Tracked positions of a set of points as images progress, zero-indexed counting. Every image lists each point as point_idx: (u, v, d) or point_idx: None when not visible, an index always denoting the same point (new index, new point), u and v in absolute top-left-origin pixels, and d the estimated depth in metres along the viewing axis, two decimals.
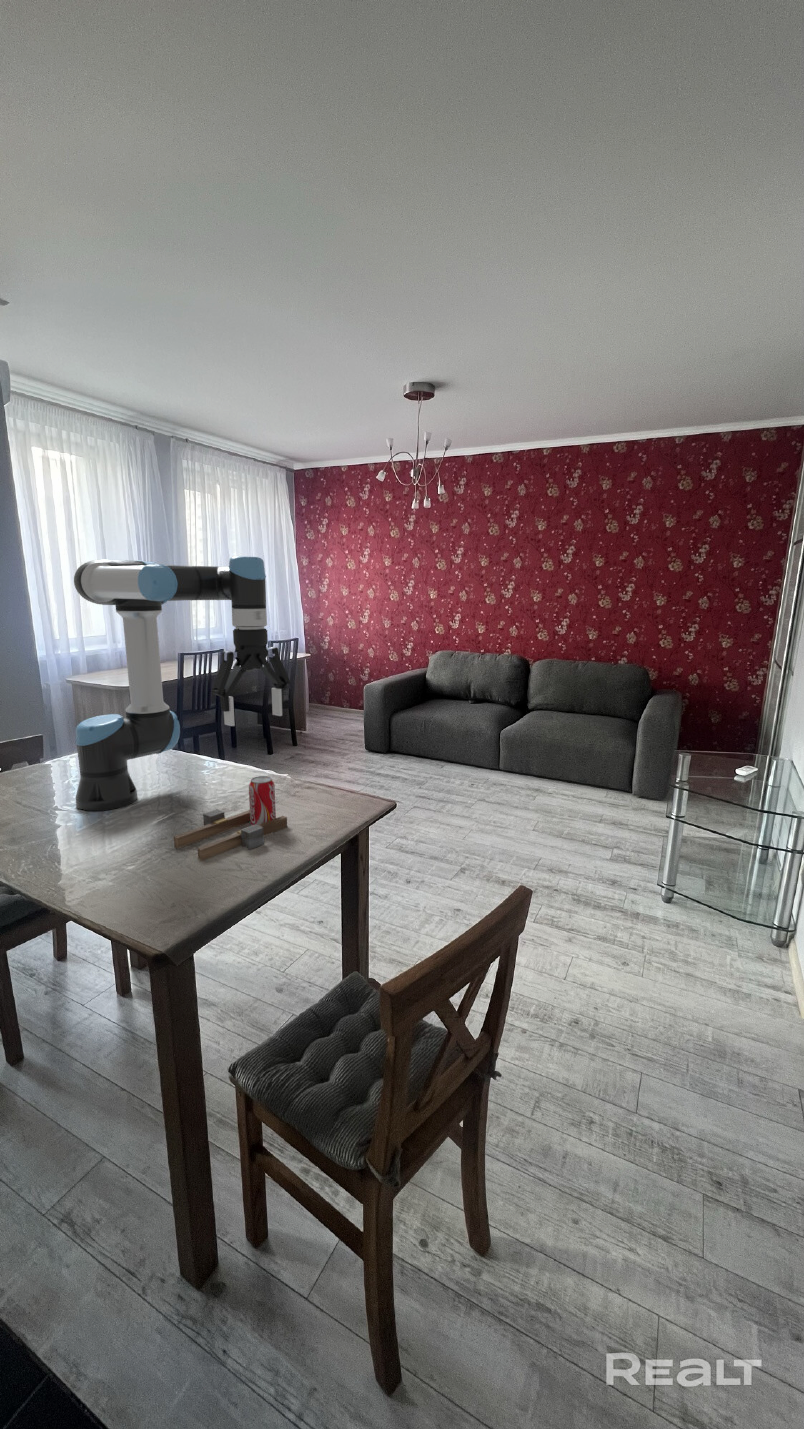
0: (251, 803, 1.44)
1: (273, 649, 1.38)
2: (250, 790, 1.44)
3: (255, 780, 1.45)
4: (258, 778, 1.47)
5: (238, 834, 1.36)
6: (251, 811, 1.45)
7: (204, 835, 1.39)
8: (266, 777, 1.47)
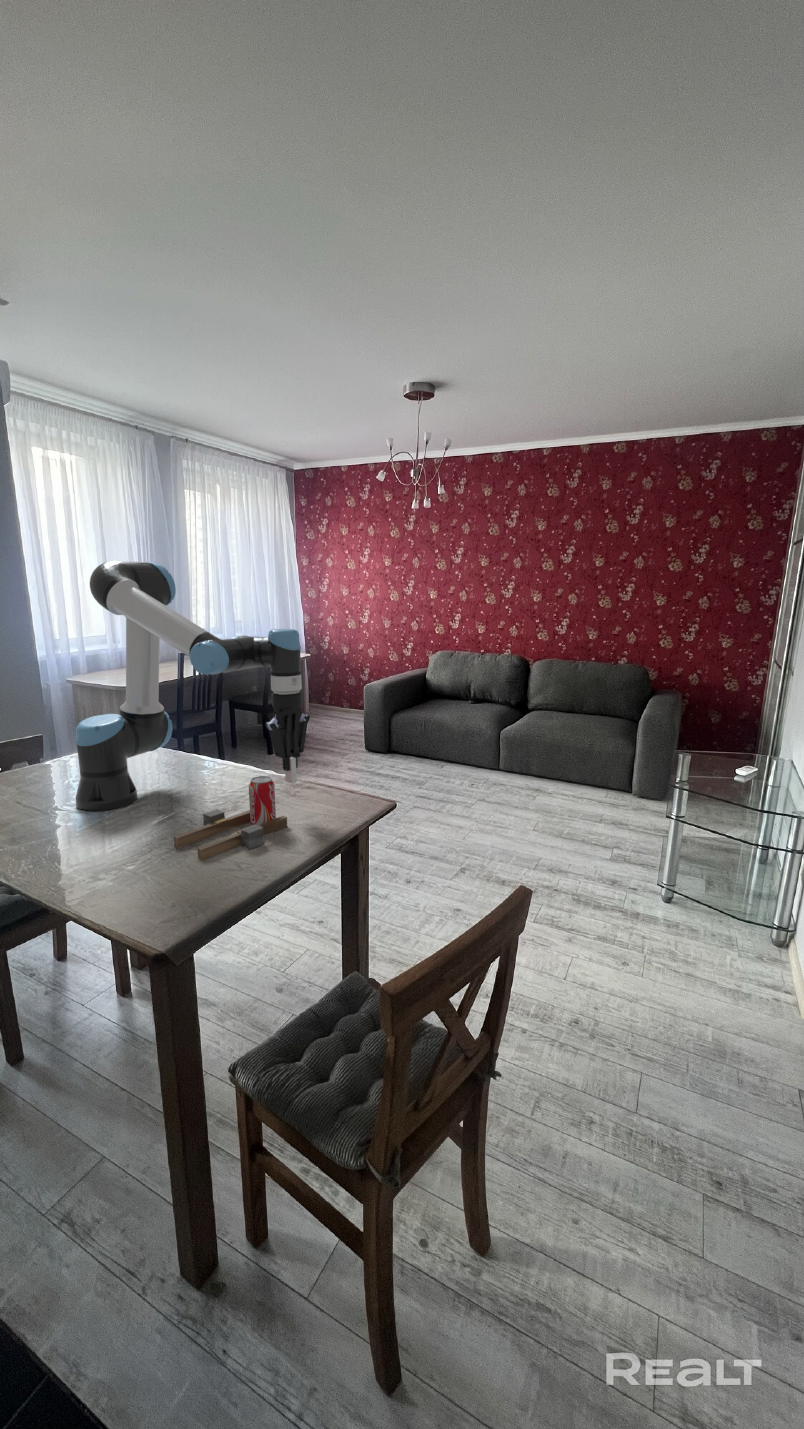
0: (251, 803, 1.44)
1: (306, 715, 1.53)
2: (250, 790, 1.44)
3: (255, 780, 1.45)
4: (258, 778, 1.47)
5: (238, 834, 1.36)
6: (251, 811, 1.45)
7: (204, 835, 1.39)
8: (266, 777, 1.47)
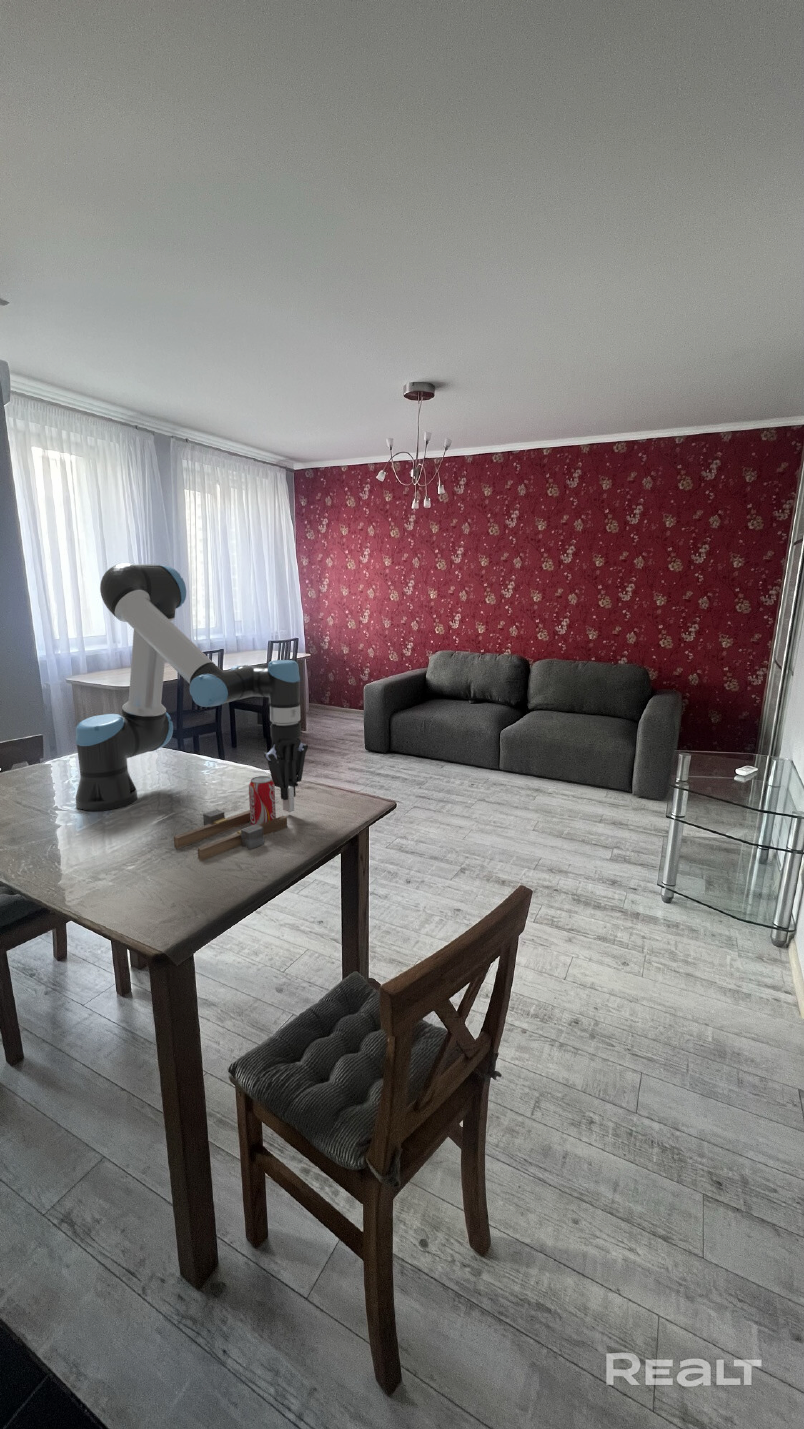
0: (251, 803, 1.44)
1: (304, 745, 1.54)
2: (250, 790, 1.44)
3: (255, 780, 1.45)
4: (258, 778, 1.47)
5: (238, 834, 1.36)
6: (251, 811, 1.45)
7: (204, 835, 1.39)
8: (266, 777, 1.47)
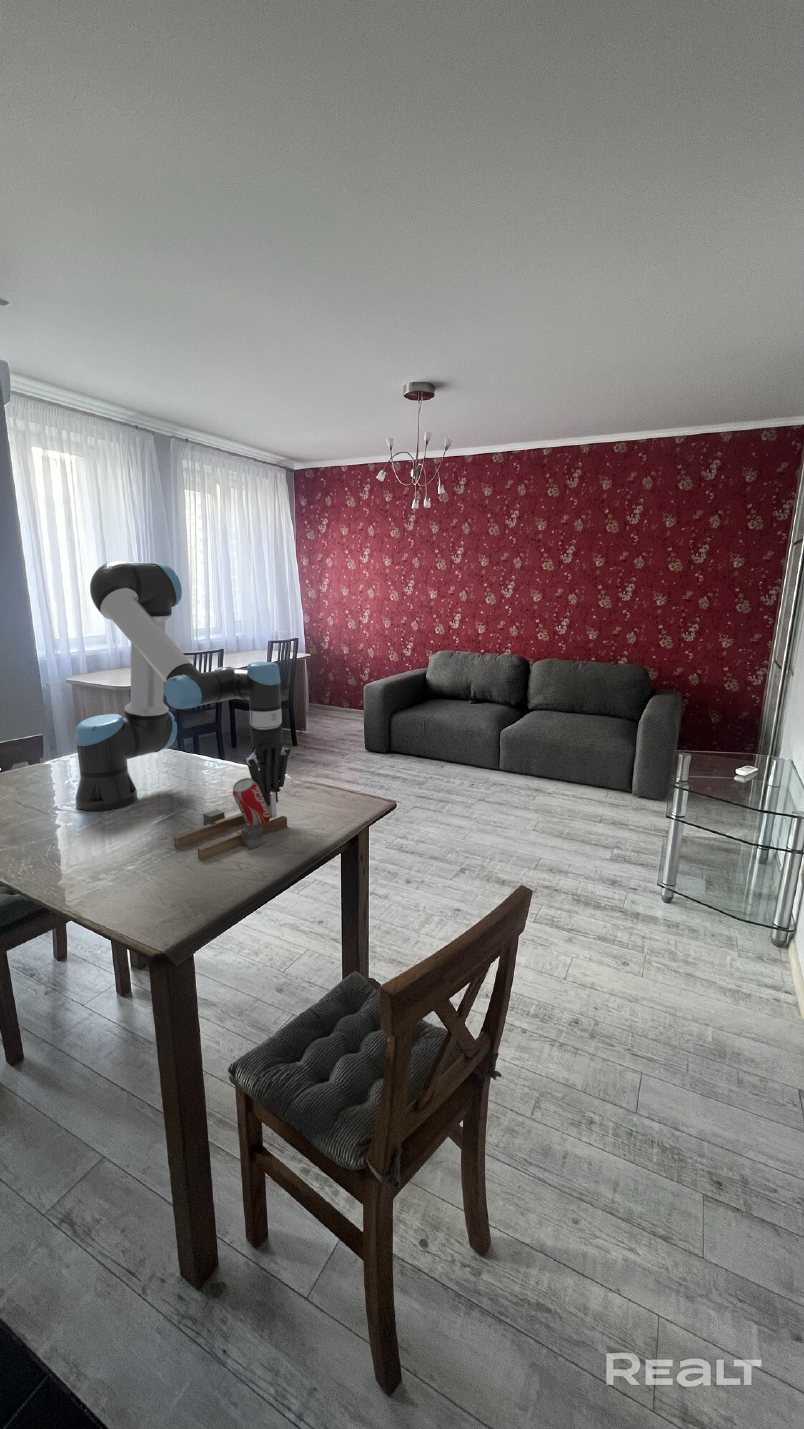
0: (240, 809, 1.42)
1: (286, 749, 1.49)
2: (235, 799, 1.40)
3: (237, 787, 1.41)
4: (240, 782, 1.42)
5: (238, 834, 1.36)
6: (243, 815, 1.43)
7: (204, 835, 1.39)
8: (248, 779, 1.42)
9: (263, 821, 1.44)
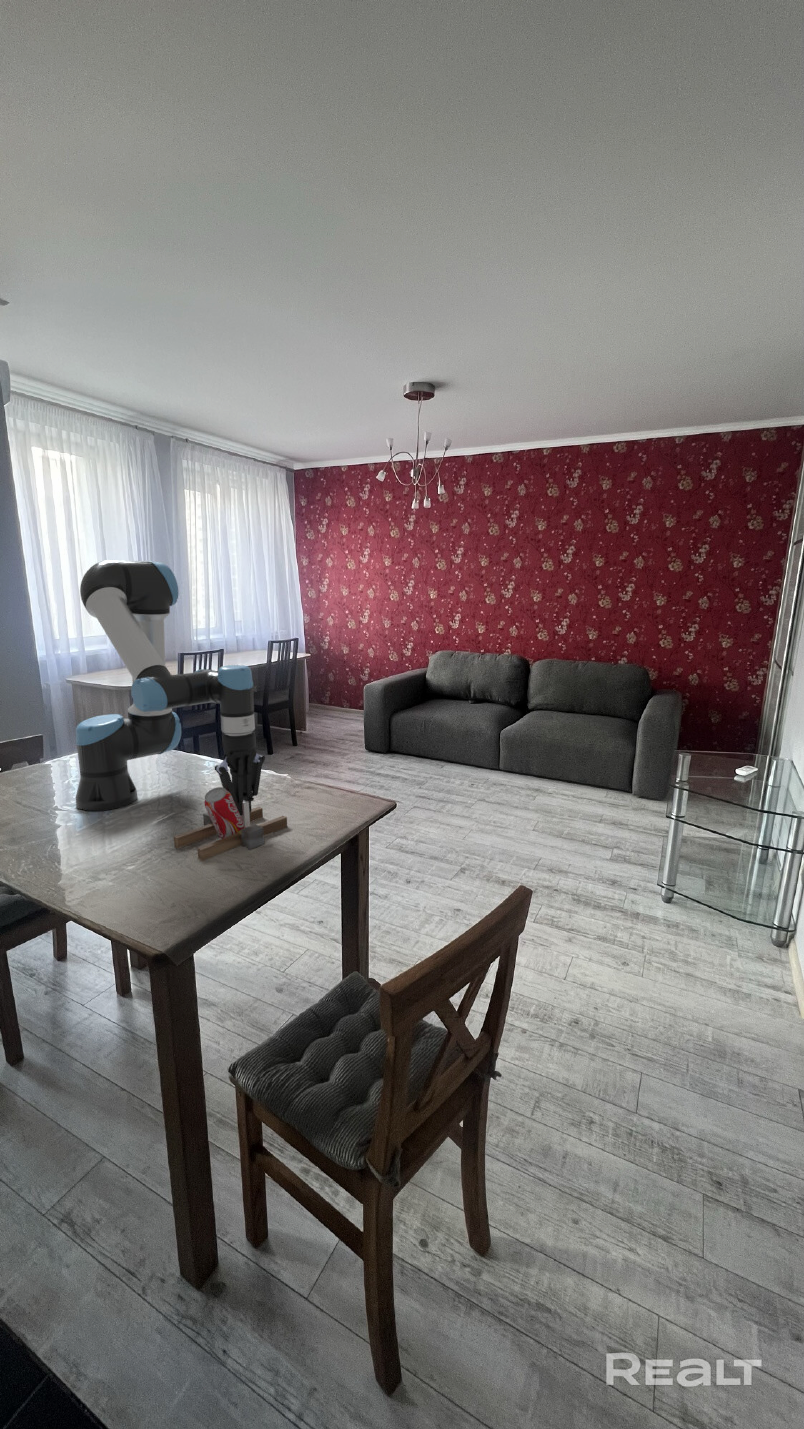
0: (213, 820, 1.35)
1: (261, 756, 1.43)
2: (207, 809, 1.33)
3: (209, 797, 1.34)
4: (212, 792, 1.35)
5: (238, 834, 1.36)
6: (215, 827, 1.36)
7: (204, 835, 1.39)
8: (220, 789, 1.36)
9: None
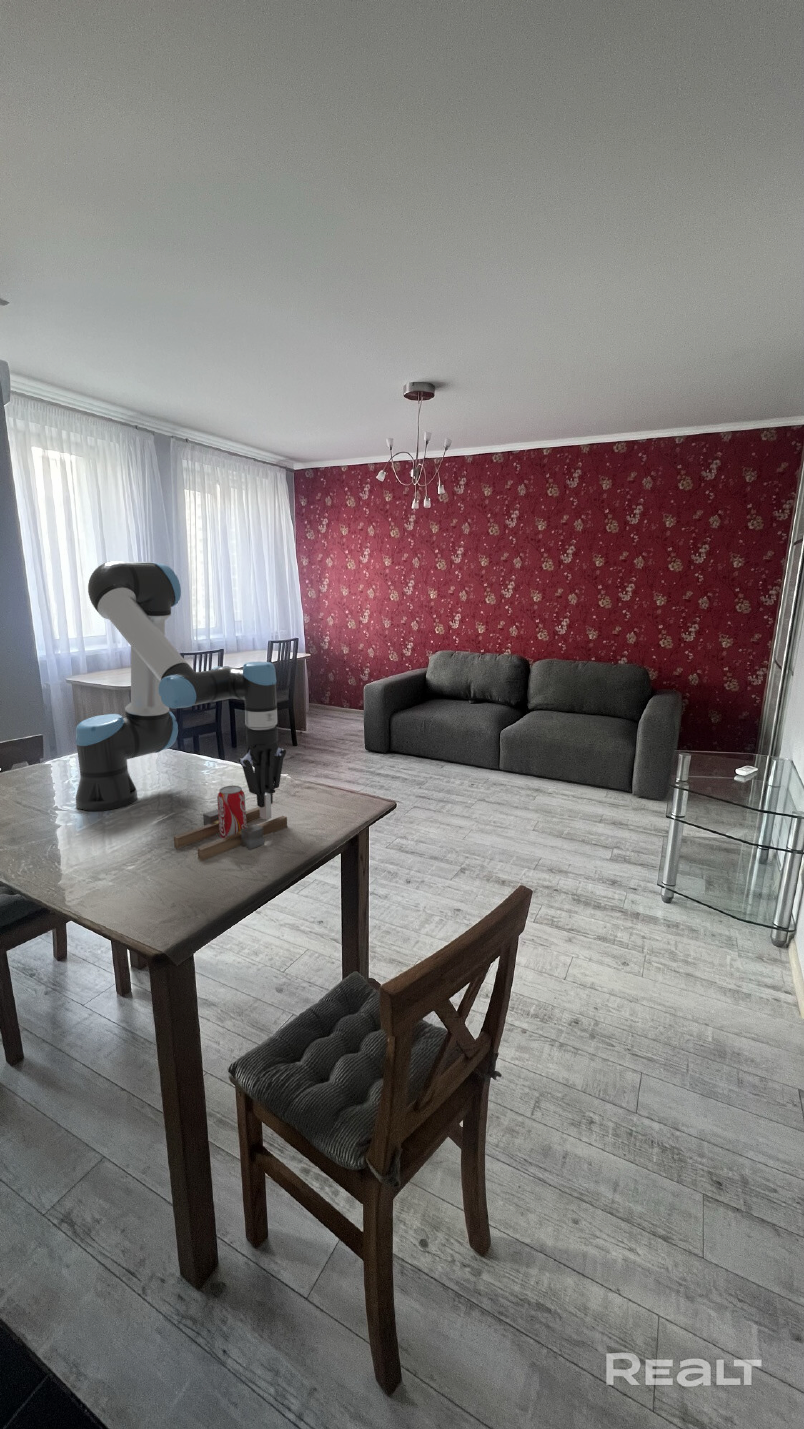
0: (220, 815, 1.37)
1: (282, 750, 1.48)
2: (219, 801, 1.36)
3: (224, 790, 1.38)
4: (227, 788, 1.39)
5: (238, 834, 1.36)
6: (220, 823, 1.38)
7: (204, 835, 1.39)
8: (235, 786, 1.40)
9: None
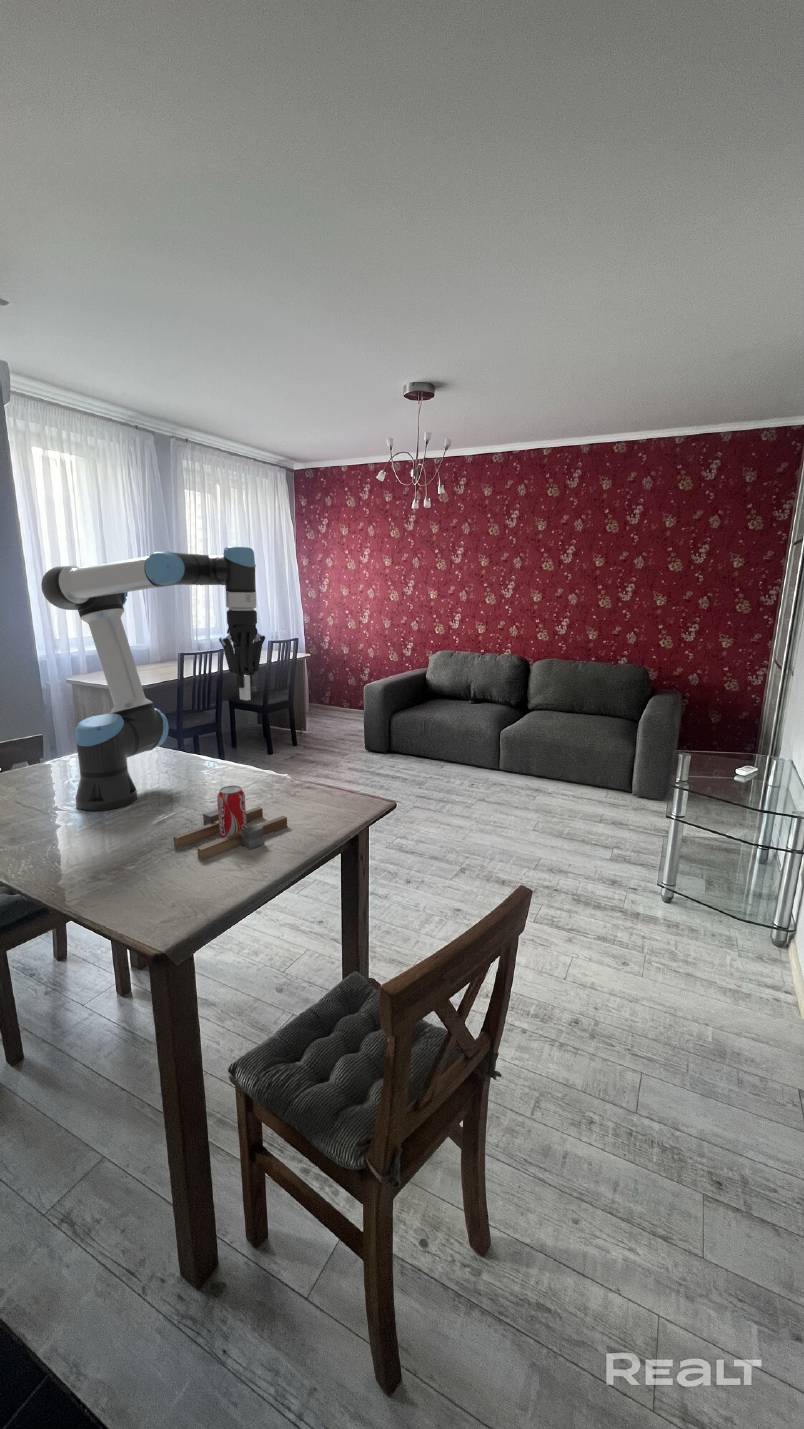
0: (220, 815, 1.37)
1: (261, 636, 1.57)
2: (219, 801, 1.36)
3: (224, 790, 1.38)
4: (227, 788, 1.39)
5: (238, 834, 1.36)
6: (220, 823, 1.38)
7: (204, 835, 1.39)
8: (235, 786, 1.40)
9: None
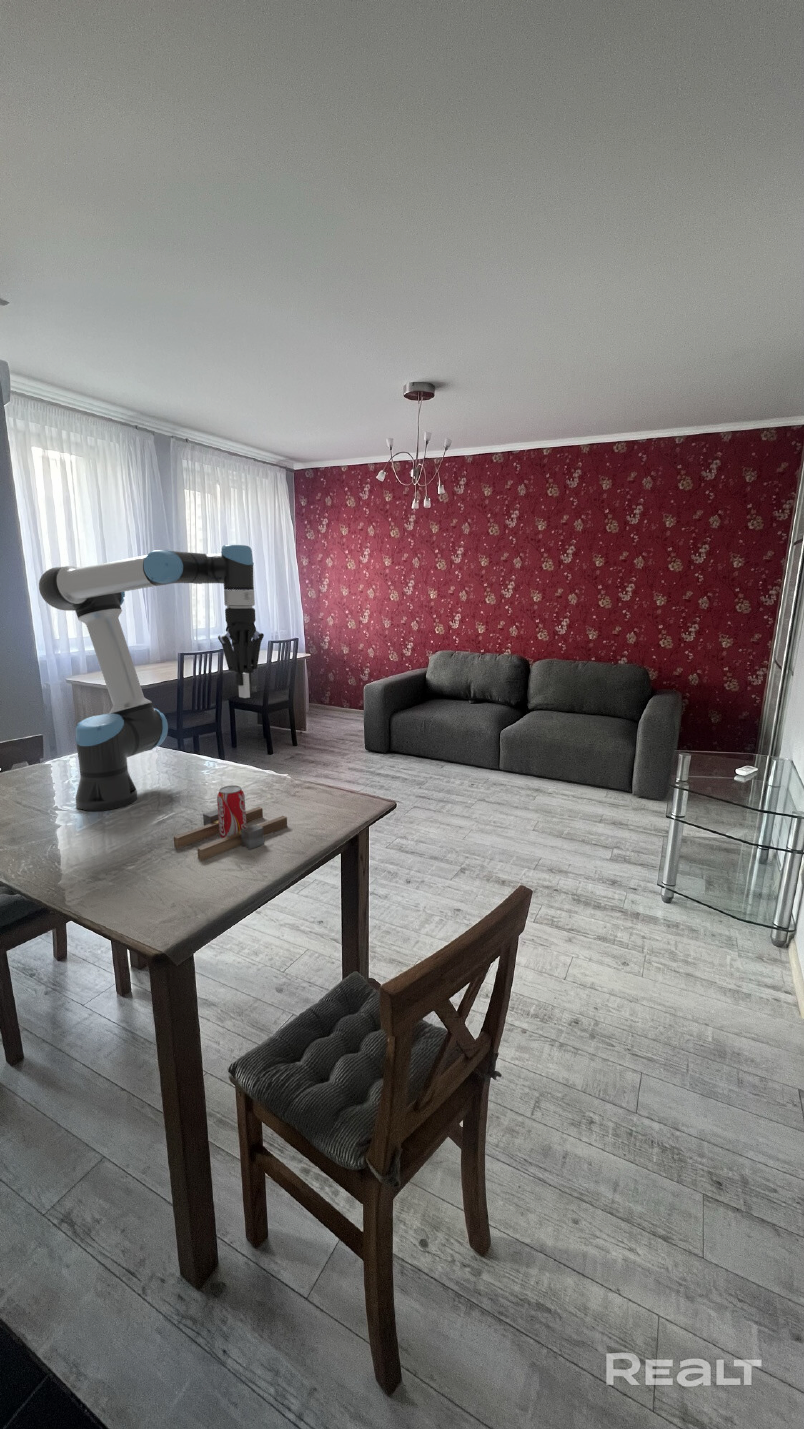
0: (220, 814, 1.37)
1: (260, 633, 1.57)
2: (219, 801, 1.36)
3: (224, 790, 1.38)
4: (227, 788, 1.39)
5: (238, 834, 1.36)
6: (220, 823, 1.38)
7: (204, 835, 1.39)
8: (235, 786, 1.40)
9: None
